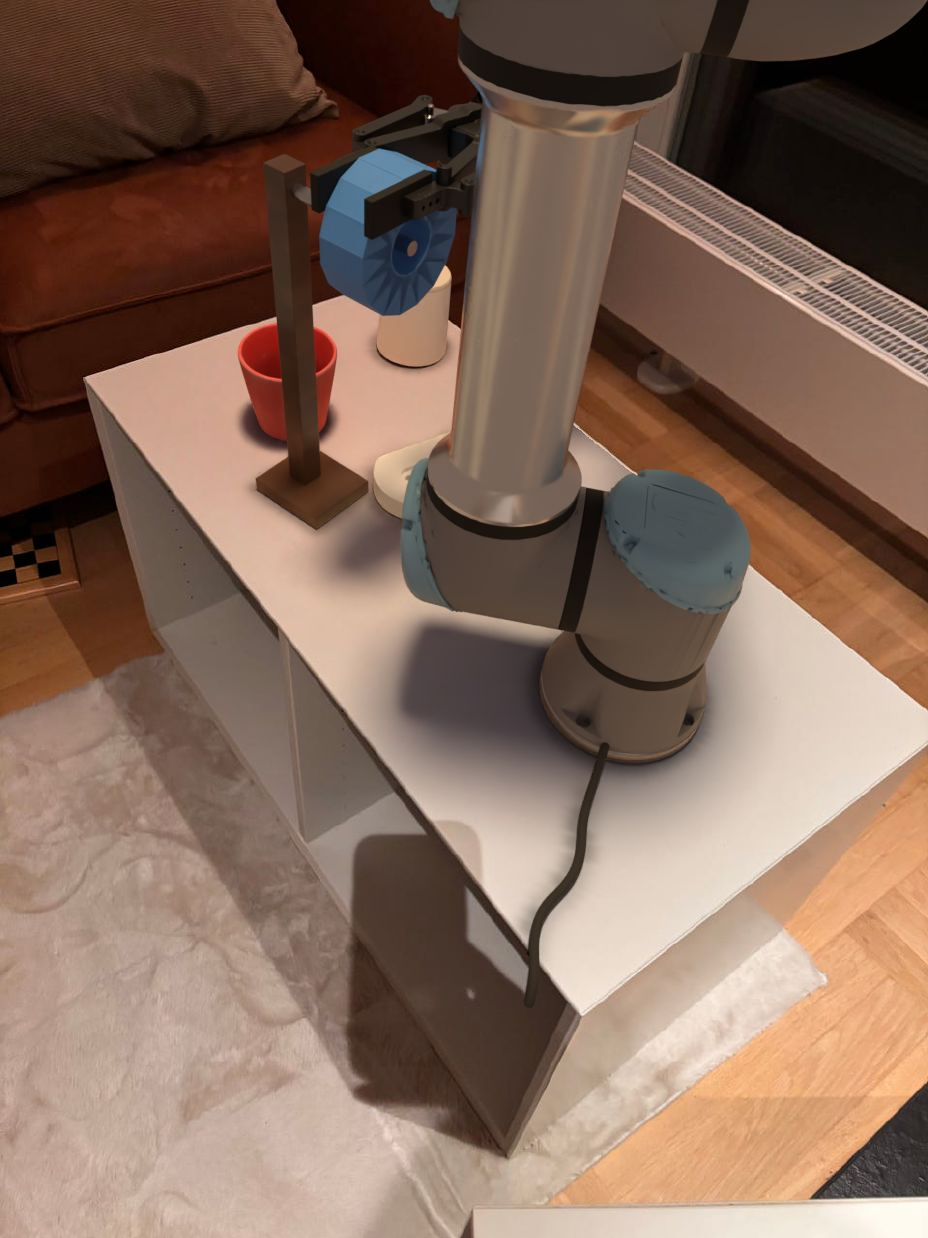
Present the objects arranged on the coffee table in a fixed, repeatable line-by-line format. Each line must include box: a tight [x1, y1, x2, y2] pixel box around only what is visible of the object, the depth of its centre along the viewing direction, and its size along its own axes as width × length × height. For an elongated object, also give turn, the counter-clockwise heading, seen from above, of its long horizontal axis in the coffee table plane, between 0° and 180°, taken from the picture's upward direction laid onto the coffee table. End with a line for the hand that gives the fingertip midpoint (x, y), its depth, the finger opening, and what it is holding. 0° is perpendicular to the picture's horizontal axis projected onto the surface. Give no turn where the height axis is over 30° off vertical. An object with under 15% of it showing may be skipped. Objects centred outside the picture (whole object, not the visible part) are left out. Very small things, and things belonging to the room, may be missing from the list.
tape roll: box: [318, 149, 458, 316], centre depth 72 cm, size 4×11×11 cm, turn 142°
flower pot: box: [237, 322, 338, 442], centre depth 104 cm, size 11×11×10 cm
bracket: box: [372, 431, 451, 519], centre depth 102 cm, size 20×9×7 cm, turn 123°
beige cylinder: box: [375, 265, 452, 367], centre depth 116 cm, size 11×9×10 cm
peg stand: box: [255, 153, 417, 530], centre depth 86 cm, size 17×8×35 cm, turn 52°
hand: (341, 206), depth 66 cm, fingers closed on tape roll, 4 cm apart
